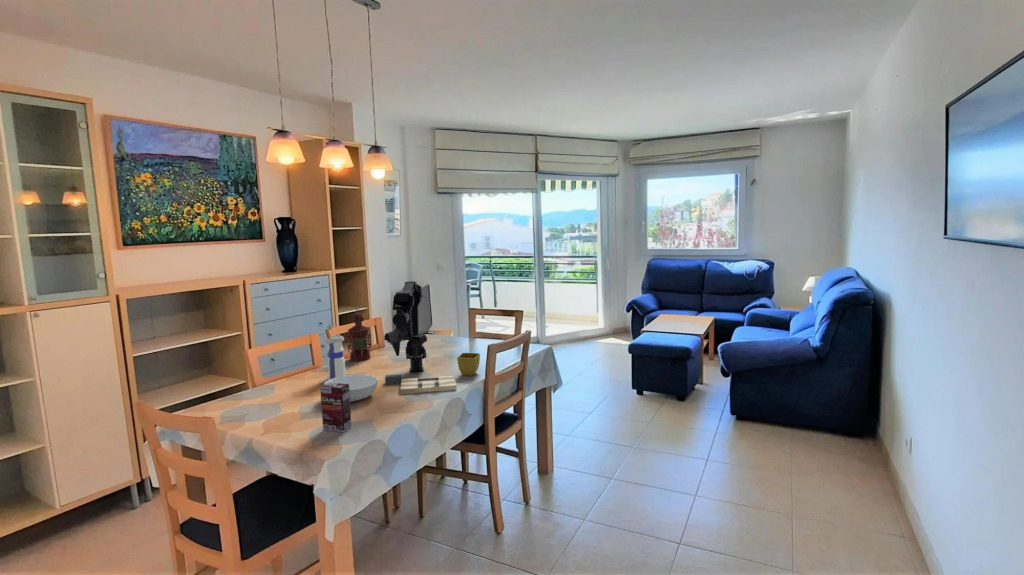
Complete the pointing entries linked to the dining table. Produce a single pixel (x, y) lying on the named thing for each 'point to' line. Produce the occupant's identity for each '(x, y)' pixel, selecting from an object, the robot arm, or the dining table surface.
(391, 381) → the dark grey chamfered block
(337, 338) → the water bottle
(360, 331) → the lantern
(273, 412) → the dining table surface
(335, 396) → the supplement box
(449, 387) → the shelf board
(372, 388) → the serving bowl
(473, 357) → the flower pot
